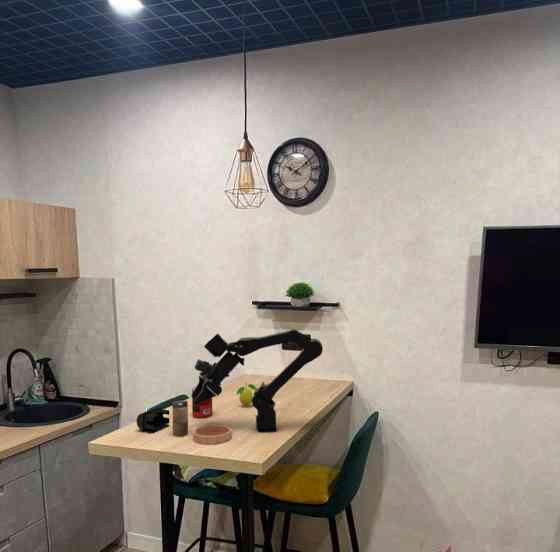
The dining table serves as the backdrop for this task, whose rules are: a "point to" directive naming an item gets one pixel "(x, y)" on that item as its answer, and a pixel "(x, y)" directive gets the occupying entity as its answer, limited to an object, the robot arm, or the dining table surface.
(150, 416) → the end cap
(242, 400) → the lemon
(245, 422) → the dining table surface
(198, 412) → the canned food
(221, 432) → the terracotta dish
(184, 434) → the pepper mill
